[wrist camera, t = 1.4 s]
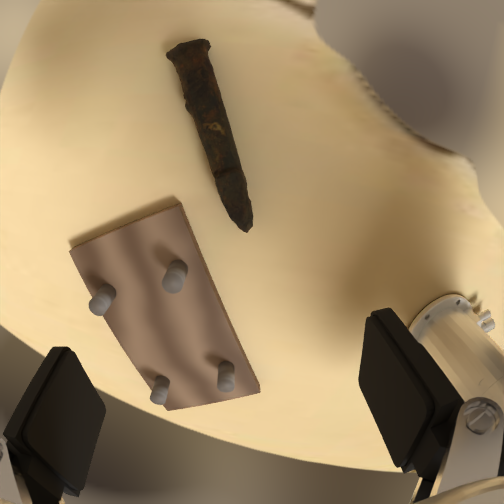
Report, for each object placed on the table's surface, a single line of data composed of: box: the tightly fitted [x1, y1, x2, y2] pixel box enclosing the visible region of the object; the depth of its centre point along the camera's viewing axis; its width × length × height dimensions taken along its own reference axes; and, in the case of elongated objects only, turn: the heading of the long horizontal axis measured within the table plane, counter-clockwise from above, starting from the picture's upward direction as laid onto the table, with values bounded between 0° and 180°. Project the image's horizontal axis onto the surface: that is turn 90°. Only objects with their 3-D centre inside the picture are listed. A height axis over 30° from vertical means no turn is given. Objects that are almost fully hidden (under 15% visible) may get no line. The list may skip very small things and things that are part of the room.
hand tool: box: [166, 39, 253, 233], centre depth 26 cm, size 19×4×5 cm, turn 14°
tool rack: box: [69, 203, 260, 411], centre depth 33 cm, size 14×26×5 cm, turn 18°
